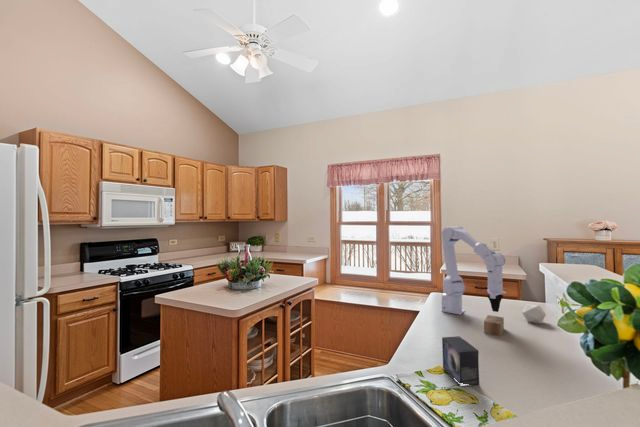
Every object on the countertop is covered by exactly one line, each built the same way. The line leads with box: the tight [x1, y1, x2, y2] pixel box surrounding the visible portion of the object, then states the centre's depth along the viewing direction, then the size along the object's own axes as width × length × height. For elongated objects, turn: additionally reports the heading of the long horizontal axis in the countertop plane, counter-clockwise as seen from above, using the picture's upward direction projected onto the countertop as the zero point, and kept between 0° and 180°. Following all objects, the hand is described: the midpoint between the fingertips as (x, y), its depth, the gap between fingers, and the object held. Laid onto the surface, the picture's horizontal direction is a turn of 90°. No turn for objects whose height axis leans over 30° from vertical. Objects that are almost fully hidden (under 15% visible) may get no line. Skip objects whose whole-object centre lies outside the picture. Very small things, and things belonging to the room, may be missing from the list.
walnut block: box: [483, 314, 505, 337], centre depth 126 cm, size 6×5×10 cm
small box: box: [441, 335, 480, 386], centre depth 91 cm, size 11×6×10 cm, turn 5°
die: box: [521, 303, 547, 325], centre depth 136 cm, size 8×9×10 cm
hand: (495, 311), depth 130 cm, fingers closed
